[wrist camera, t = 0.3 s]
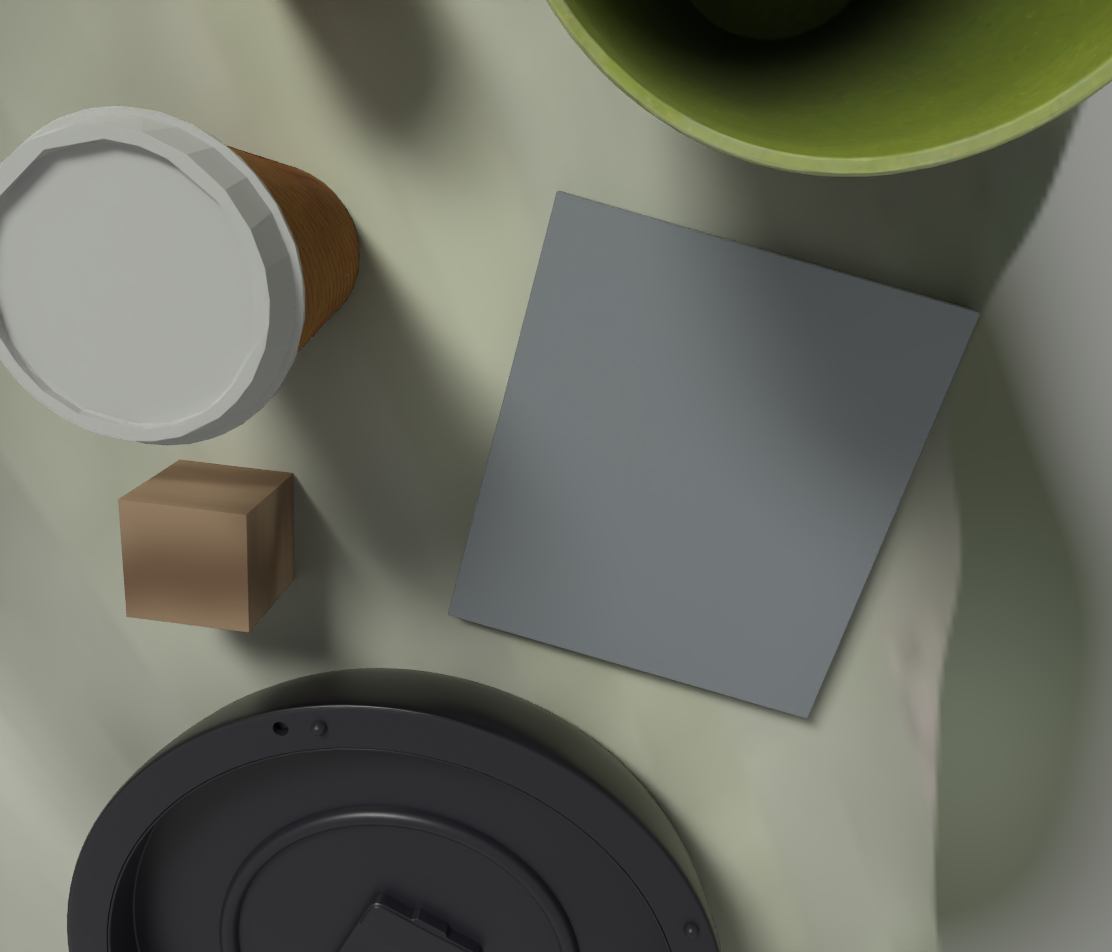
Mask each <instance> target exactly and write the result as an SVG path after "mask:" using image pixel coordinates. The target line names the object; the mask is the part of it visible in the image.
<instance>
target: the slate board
mask: <svg viewBox="0 0 1112 952" xmlns="http://www.w3.org/2000/svg"><path fill="white" fill-rule="evenodd" d="M979 315H980V313H979V312H977V311H975V310H973V309H970V308H966V307H963V306H959V305H956V304H952V303H949V302H945V301H942V300H938V299H935V298H931V297H928V296H924V295H921V294H917V293H914V292H910V291H907V290H903V289H900V288H896V287H893V286H889V285H886V284H882V283H879V282H875V281H872V280H868V279H865V278H862V277H858V276H855V275H851V274H848V273H844V272H841V271H837V270H834V269H830V268H827V267H823V266H820V265H816V264H813V263H809V262H806V261H802V260H799V259H795V258H792V257H788V256H785V255H781V254H778V253H774V252H771V251H767V250H764V249H760V248H757V247H753V246H750V245H746V244H743V243H739V242H736V241H732V240H729V239H725V238H722V237H718V236H715V235H711V234H708V233H704V232H701V231H697V230H694V229H691V228H687V227H684V226H680V225H677V224H673V223H670V222H666V221H663V220H659V219H656V218H652V217H649V216H645V215H642V214H638V213H635V212H631V211H628V210H624V209H621V208H617V207H614V206H610V205H607V204H603V203H600V202H596V201H593V200H589V199H586V198H582V197H579V196H575V195H572V194H568V193H565V192H561V191H558V192H557V193H556V197H555V201H554V205H553V209H552V213H551V216H550V220H549V224H548V228H547V232H546V236H545V240H544V244H543V247H542V251H541V255H540V259H539V263H538V267H537V271H536V275H535V279H534V282H533V286H532V290H531V294H530V298H529V302H528V306H527V310H526V314H525V317H524V321H523V325H522V329H521V333H520V337H519V341H518V345H517V348H516V352H515V356H514V360H513V364H512V368H511V372H510V376H509V380H508V383H507V387H506V391H505V395H504V399H503V403H502V407H501V411H500V415H499V418H498V422H497V426H496V430H495V434H494V438H493V442H492V446H491V450H490V453H489V457H488V461H487V465H486V469H485V473H484V477H483V481H482V484H481V488H480V492H479V496H478V500H477V504H476V508H475V512H474V516H473V519H472V523H471V527H470V531H469V535H468V539H467V543H466V547H465V551H464V554H463V558H462V562H461V566H460V570H459V574H458V578H457V582H456V586H455V589H454V593H453V597H452V601H451V605H450V609H449V613H448V615H450V616H454V617H457V618H461V619H464V620H467V621H471V622H474V623H478V624H481V625H485V626H488V627H492V628H495V629H499V630H502V631H506V632H509V633H512V634H516V635H519V636H523V637H526V638H530V639H533V640H537V641H540V642H544V643H547V644H551V645H554V646H557V647H561V648H564V649H568V650H571V651H575V652H578V653H582V654H585V655H589V656H592V657H596V658H599V659H602V660H606V661H609V662H613V663H616V664H620V665H623V666H627V667H630V668H634V669H637V670H641V671H644V672H647V673H651V674H654V675H658V676H661V677H665V678H668V679H672V680H675V681H679V682H682V683H686V684H689V685H692V686H696V687H699V688H703V689H706V690H710V691H713V692H717V693H720V694H724V695H727V696H731V697H734V698H737V699H741V700H744V701H748V702H751V703H755V704H758V705H762V706H765V707H769V708H772V709H776V710H779V711H782V712H786V713H789V714H793V715H796V716H800V717H803V718H808V715H809V713H810V711H811V708H812V706H813V704H814V701H815V699H816V697H817V694H818V692H819V690H820V687H821V685H822V683H823V680H824V678H825V676H826V673H827V671H828V668H829V666H830V664H831V661H832V659H833V657H834V654H835V652H836V650H837V647H838V645H839V643H840V640H841V638H842V636H843V633H844V631H845V629H846V626H847V624H848V622H849V619H850V617H851V615H852V612H853V610H854V608H855V605H856V603H857V601H858V598H859V596H860V594H861V591H862V589H863V587H864V584H865V582H866V580H867V577H868V575H869V573H870V570H871V568H872V566H873V563H874V561H875V559H876V556H877V554H878V552H879V549H880V547H881V545H882V542H883V540H884V538H885V535H886V533H887V531H888V528H889V526H890V524H891V521H892V519H893V517H894V514H895V512H896V510H897V507H898V505H899V502H900V500H901V498H902V495H903V493H904V491H905V488H906V486H907V484H908V481H909V479H910V477H911V474H912V472H913V470H914V467H915V465H916V463H917V460H918V458H919V456H920V453H921V451H922V449H923V446H924V444H925V442H926V439H927V437H928V435H929V432H930V430H931V428H932V425H933V423H934V421H935V418H936V416H937V414H938V411H939V409H940V407H941V404H942V402H943V400H944V397H945V395H946V393H947V390H948V388H949V386H950V383H951V381H952V379H953V376H954V374H955V372H956V369H957V367H958V365H959V362H960V360H961V358H962V355H963V353H964V351H965V348H966V346H967V344H968V341H969V339H970V336H971V334H972V332H973V329H974V327H975V325H976V322H977V320H978V318H979Z"/></svg>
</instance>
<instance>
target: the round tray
mask: <svg viewBox="0 0 1112 952" xmlns="http://www.w3.org/2000/svg"><path fill="white" fill-rule="evenodd" d="M67 934H68V946H69V952H721V948H720V943H719V939H718V935H717V931H716V928H715V924H714V921H713V917H712V914H711V911H710V908H709V905H708V902H707V899H706V896H705V893H704V890H703V887H702V885H701V882H700V880H699V878H698V875H697V873H696V871H695V868H694V866H693V864H692V861H691V859H690V857H689V855H688V853H687V851H686V849H685V847H684V845H683V843H682V841H681V839H680V838H679V836H678V834H677V832H676V831H675V829H674V828H673V826H672V825H671V823H670V821H669V820H668V818H667V817H666V816H665V814H664V813H663V811H662V810H661V809H660V807H659V806H658V805H657V803H656V802H655V801H654V799H653V798H652V797H651V795H650V794H649V793H648V792H647V790H646V789H645V788H644V787H643V786H642V784H641V783H640V782H639V781H638V780H637V779H636V778H635V777H634V776H633V775H632V773H631V772H630V771H629V770H628V769H627V768H626V767H624V766H623V765H622V764H621V763H620V762H619V761H618V760H617V759H616V758H615V757H614V756H613V755H611V754H610V753H609V752H608V751H607V750H606V749H604V748H603V747H602V746H601V745H599V744H598V743H597V742H596V741H594V740H593V739H591V738H590V737H589V736H587V735H586V734H585V733H583V732H582V731H580V730H579V729H577V728H576V727H574V726H573V725H571V724H570V723H568V722H566V721H565V720H563V719H561V718H559V717H558V716H556V715H554V714H552V713H551V712H549V711H547V710H545V709H543V708H541V707H539V706H537V705H535V704H533V703H531V702H528V701H526V700H524V699H522V698H519V697H517V696H515V695H512V694H510V693H507V692H504V691H502V690H499V689H496V688H493V687H490V686H487V685H484V684H480V683H477V682H473V681H470V680H466V679H462V678H458V677H453V676H448V675H443V674H438V673H432V672H425V671H417V670H406V669H388V668H365V669H349V670H340V671H331V672H325V673H319V674H314V675H309V676H305V677H301V678H297V679H293V680H290V681H286V682H283V683H280V684H277V685H274V686H271V687H268V688H266V689H263V690H260V691H257V692H255V693H252V694H250V695H247V696H245V697H243V698H241V699H239V700H237V701H234V702H232V703H231V704H229V705H227V706H225V707H223V708H221V709H220V710H218V711H216V712H215V713H213V714H211V715H210V716H208V717H206V718H205V719H203V720H202V721H200V722H198V723H197V724H195V725H194V726H192V727H191V728H189V729H188V730H187V731H185V732H184V733H182V734H181V735H180V736H178V737H177V738H176V739H174V740H173V741H172V742H170V743H169V744H168V745H167V746H165V747H164V748H163V749H161V750H160V751H159V752H158V753H157V754H155V755H154V756H153V757H152V758H151V759H149V760H148V761H147V762H146V763H145V764H144V765H143V766H142V767H141V768H139V769H138V770H137V771H136V772H135V773H134V774H133V775H132V776H131V777H130V778H129V780H128V781H127V782H126V783H125V784H124V785H123V786H122V787H121V788H120V789H119V790H118V791H117V793H116V794H115V795H114V796H113V797H112V799H111V800H110V801H109V803H108V804H107V805H106V807H105V808H104V809H103V811H102V812H101V814H100V815H99V817H98V818H97V820H96V821H95V823H94V825H93V827H92V828H91V830H90V832H89V834H88V836H87V838H86V840H85V842H84V845H83V847H82V849H81V852H80V854H79V857H78V860H77V863H76V866H75V870H74V873H73V877H72V882H71V887H70V893H69V900H68V912H67Z"/></svg>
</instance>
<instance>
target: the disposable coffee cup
mask: <svg viewBox="0 0 1112 952" xmlns="http://www.w3.org/2000/svg"><path fill="white" fill-rule="evenodd" d="M359 256H360V254H359V244H358V237H357V234H356V230H355V227H354V224H353V221H352V219H351V218H350V216H349V214H348V212H347V210H346V208H345V206H344V205H343V203H342V202H341V201H340V200H339V198H338V197H337V196H336V195H335V193H334V192H333V191H332V190H331V189H330V188H329V187H328V186H327V185H326V184H324V183H323V182H322V181H320V180H318V179H317V178H315V177H314V176H312V175H311V174H309V173H306V172H304V171H302V170H300V169H298V168H295V167H292V166H288V165H285V164H282V163H279V162H276V161H273V160H270V159H267V158H264V157H261V156H257V155H254V154H251V153H248V152H245V151H242V150H238V149H235V148H232V147H229V146H226V145H225V144H223V143H222V142H221V141H219V140H218V139H217V138H216V137H214V136H213V135H211V134H209V133H207V132H206V131H204V130H202V129H200V128H198V127H196V126H194V125H193V124H191V123H189V122H186V121H183V120H181V119H178V118H175V117H173V116H170V115H167V114H165V113H162V112H159V111H155V110H148V109H140V108H133V107H126V106H108V107H97V108H87V109H84V110H81V111H78V112H75V113H72V114H69V115H66V116H63V117H60V118H57V119H55V120H54V121H52V122H50V123H49V124H47V125H46V126H44V127H42V128H41V129H39V130H38V131H36V132H34V133H33V134H32V135H31V136H30V137H29V138H28V139H27V140H25V141H24V142H23V143H22V144H21V145H20V146H19V147H18V148H17V149H16V150H15V151H14V152H13V153H12V154H11V155H9V156H8V157H7V158H6V159H4V160H3V161H2V162H1V164H0V360H1V361H2V363H3V364H4V365H5V366H6V368H7V369H8V370H9V371H10V372H11V374H12V375H13V376H14V377H15V379H16V380H17V381H18V382H19V383H20V385H21V386H23V387H24V388H25V389H26V390H27V391H28V392H29V393H30V394H31V395H32V396H33V397H34V398H35V399H36V400H38V401H39V402H40V403H42V404H43V405H45V406H46V407H47V408H49V409H50V410H51V411H53V412H54V413H56V414H57V415H58V416H60V417H61V418H63V419H65V420H67V421H69V422H71V423H73V424H75V425H77V426H79V427H81V428H83V429H85V430H88V431H91V432H94V433H97V434H100V435H103V436H106V437H111V438H117V439H122V440H128V441H136V442H141V443H145V444H158V445H178V444H191V443H195V442H199V441H203V440H208V439H211V438H214V437H217V436H219V435H222V434H224V433H226V432H228V431H230V430H232V429H234V428H236V427H238V426H240V425H241V424H243V423H244V422H246V421H247V420H248V419H249V418H251V417H252V416H253V415H254V414H256V413H257V412H258V411H259V410H260V409H262V408H263V407H264V405H265V404H266V403H267V402H268V401H269V400H270V399H271V398H272V397H273V395H274V394H275V393H276V392H277V391H278V389H279V387H280V386H281V384H282V382H283V380H284V379H285V377H286V375H287V373H288V372H289V370H290V368H291V367H292V365H293V363H294V361H295V359H296V354H297V352H299V351H300V350H301V348H302V347H303V346H304V345H305V344H306V343H307V342H308V341H309V340H310V338H311V337H313V336H314V335H315V333H316V332H317V331H318V330H319V329H320V328H321V327H322V326H323V324H325V323H326V321H327V320H328V319H329V318H330V317H331V316H332V315H333V314H334V313H335V312H336V311H337V310H338V309H339V308H340V307H341V306H342V304H343V303H344V302H345V301H346V300H347V298H348V296H349V294H350V292H351V290H352V289H353V287H354V284H355V280H356V277H357V273H358V268H359Z"/></svg>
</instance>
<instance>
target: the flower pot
mask: <svg viewBox="0 0 1112 952" xmlns="http://www.w3.org/2000/svg"><path fill="white" fill-rule="evenodd" d="M546 1H547V2H548V4H549V6H550V7H551V9H552V10H553V12H554V14H555V15H556V16H557V18H558V19H559V21H560V22H561V24H562V25H563V27H564V28H565V29H566V31H567V32H568V34H569V35H570V37H571V38H572V39H573V40H574V41H575V43H576V44H577V45H578V46H579V47H580V48H581V50H582V51H583V52H584V53H585V54H586V55H587V57H588V58H589V59H590V60H591V61H592V62H593V63H594V64H595V65H596V66H597V67H598V69H599V70H600V71H601V72H602V73H603V74H604V75H605V76H606V77H607V78H608V79H609V80H610V81H611V82H612V83H614V84H615V85H616V86H617V87H618V88H619V89H620V90H621V91H623V92H624V93H625V94H626V95H627V96H629V97H630V98H631V99H632V100H634V101H635V102H636V103H637V104H639V105H640V106H641V107H642V108H644V109H645V110H646V111H648V112H649V113H651V114H652V115H654V116H655V117H657V118H658V119H660V120H661V121H663V122H664V123H666V124H667V125H669V126H670V127H672V128H673V129H675V130H676V131H678V132H680V133H682V134H684V135H686V136H688V137H690V138H692V139H694V140H696V141H698V142H700V143H702V144H704V145H705V146H707V147H709V148H711V149H713V150H716V151H718V152H721V153H723V154H726V155H729V156H732V157H735V158H738V159H741V160H743V161H746V162H749V163H753V164H758V165H762V166H766V167H770V168H774V169H778V170H782V171H787V172H794V173H801V174H808V175H817V176H831V177H868V176H880V175H891V174H897V173H903V172H908V171H914V170H920V169H926V168H931V167H936V166H939V165H943V164H947V163H950V162H954V161H957V160H961V159H964V158H967V157H970V156H973V155H976V154H979V153H982V152H985V151H988V150H991V149H993V148H995V147H998V146H1000V145H1002V144H1005V143H1007V142H1009V141H1012V140H1014V139H1016V138H1019V137H1021V136H1023V135H1026V134H1027V133H1029V132H1031V131H1033V130H1035V129H1037V128H1039V127H1041V126H1042V125H1044V124H1046V123H1048V122H1050V121H1052V120H1054V119H1056V118H1057V117H1059V116H1061V115H1062V114H1064V113H1066V112H1067V111H1069V110H1071V109H1072V108H1074V107H1075V106H1077V105H1078V104H1080V103H1081V102H1083V101H1084V100H1086V99H1087V98H1089V97H1090V96H1092V95H1093V94H1095V93H1096V92H1097V91H1098V90H1100V89H1102V88H1103V87H1104V86H1106V85H1107V84H1108V83H1110V82H1111V81H1112V0H546Z"/></svg>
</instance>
